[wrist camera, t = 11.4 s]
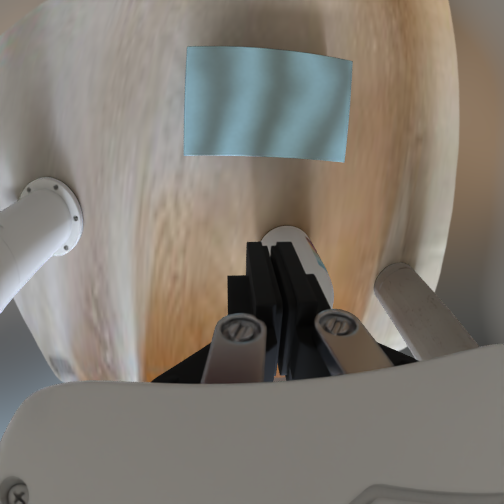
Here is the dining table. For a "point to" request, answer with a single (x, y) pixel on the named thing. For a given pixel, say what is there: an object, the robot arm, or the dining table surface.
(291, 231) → the milk bottle
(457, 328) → the thermos bottle
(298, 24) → the dining table surface
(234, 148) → the light blue flat slab
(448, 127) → the dining table surface
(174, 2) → the dining table surface
